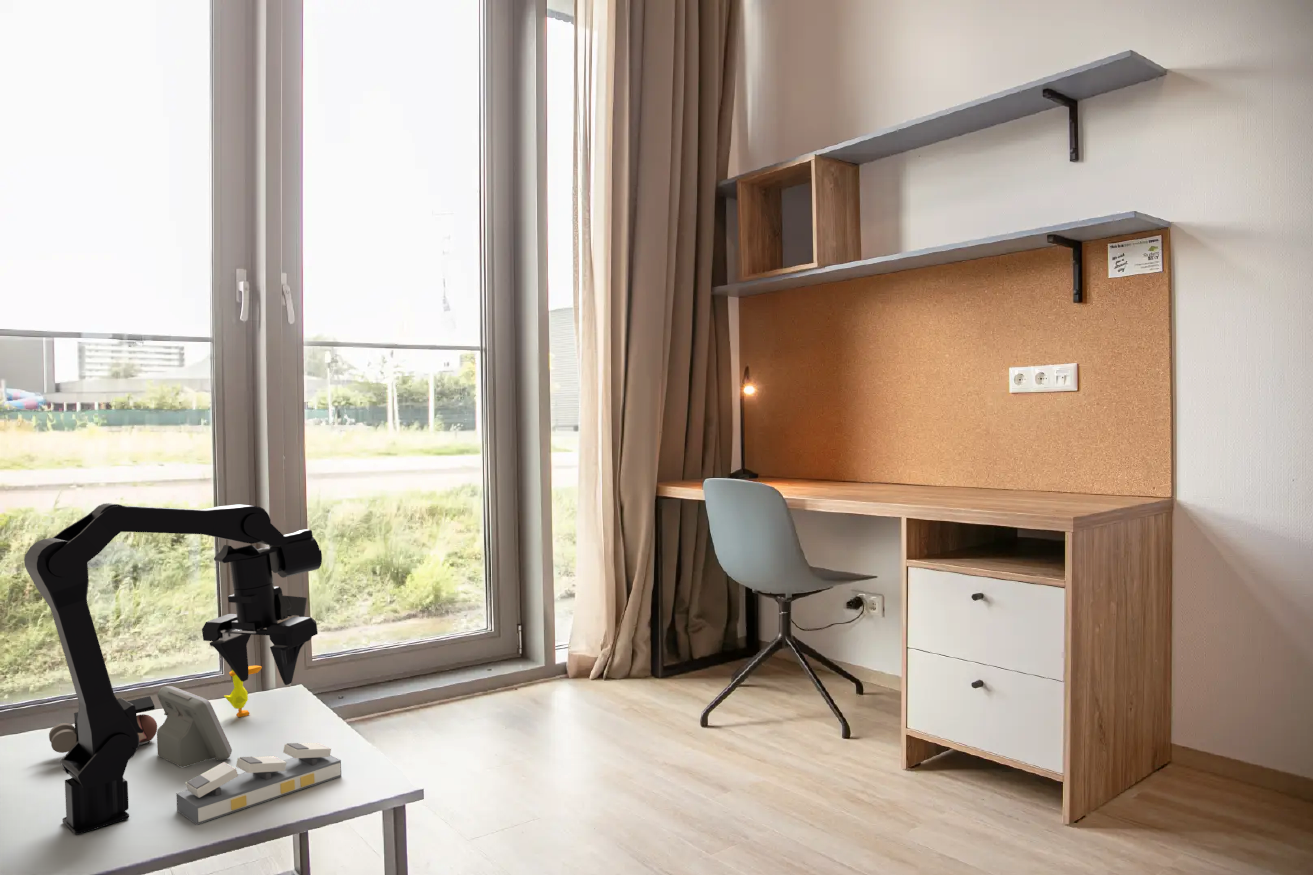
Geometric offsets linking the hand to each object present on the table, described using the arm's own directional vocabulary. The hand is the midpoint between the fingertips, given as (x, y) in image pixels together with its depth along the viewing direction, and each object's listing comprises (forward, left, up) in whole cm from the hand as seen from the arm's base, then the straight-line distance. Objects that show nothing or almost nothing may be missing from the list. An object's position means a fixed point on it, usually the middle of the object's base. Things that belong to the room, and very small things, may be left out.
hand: (266, 682), depth 142 cm
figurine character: (-14, +30, -14) cm, 36 cm away
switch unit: (-5, -9, -14) cm, 17 cm away
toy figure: (+9, +30, -14) cm, 35 cm away
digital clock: (-5, +16, -14) cm, 22 cm away
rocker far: (+2, -9, -9) cm, 13 cm away
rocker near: (-12, -9, -9) cm, 18 cm away
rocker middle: (-5, -9, -9) cm, 14 cm away
